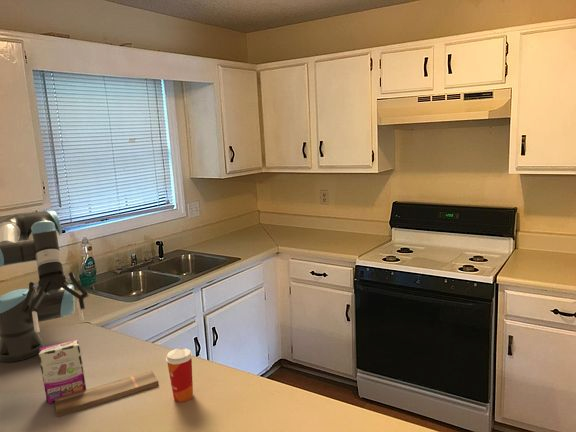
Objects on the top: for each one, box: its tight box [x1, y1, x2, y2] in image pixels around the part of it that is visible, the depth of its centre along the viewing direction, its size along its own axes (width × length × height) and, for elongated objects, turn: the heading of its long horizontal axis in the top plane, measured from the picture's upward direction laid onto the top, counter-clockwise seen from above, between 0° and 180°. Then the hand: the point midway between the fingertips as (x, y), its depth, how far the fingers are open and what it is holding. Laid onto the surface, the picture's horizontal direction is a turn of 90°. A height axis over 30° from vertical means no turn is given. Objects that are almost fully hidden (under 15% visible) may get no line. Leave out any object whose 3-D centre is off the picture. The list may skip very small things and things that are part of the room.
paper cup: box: [165, 347, 194, 403], centre depth 139 cm, size 8×8×14 cm
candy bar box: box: [38, 339, 87, 405], centre depth 144 cm, size 11×5×16 cm, turn 115°
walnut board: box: [54, 370, 160, 418], centre depth 144 cm, size 8×29×2 cm, turn 120°
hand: (59, 325), depth 154 cm, fingers open, 13 cm apart
